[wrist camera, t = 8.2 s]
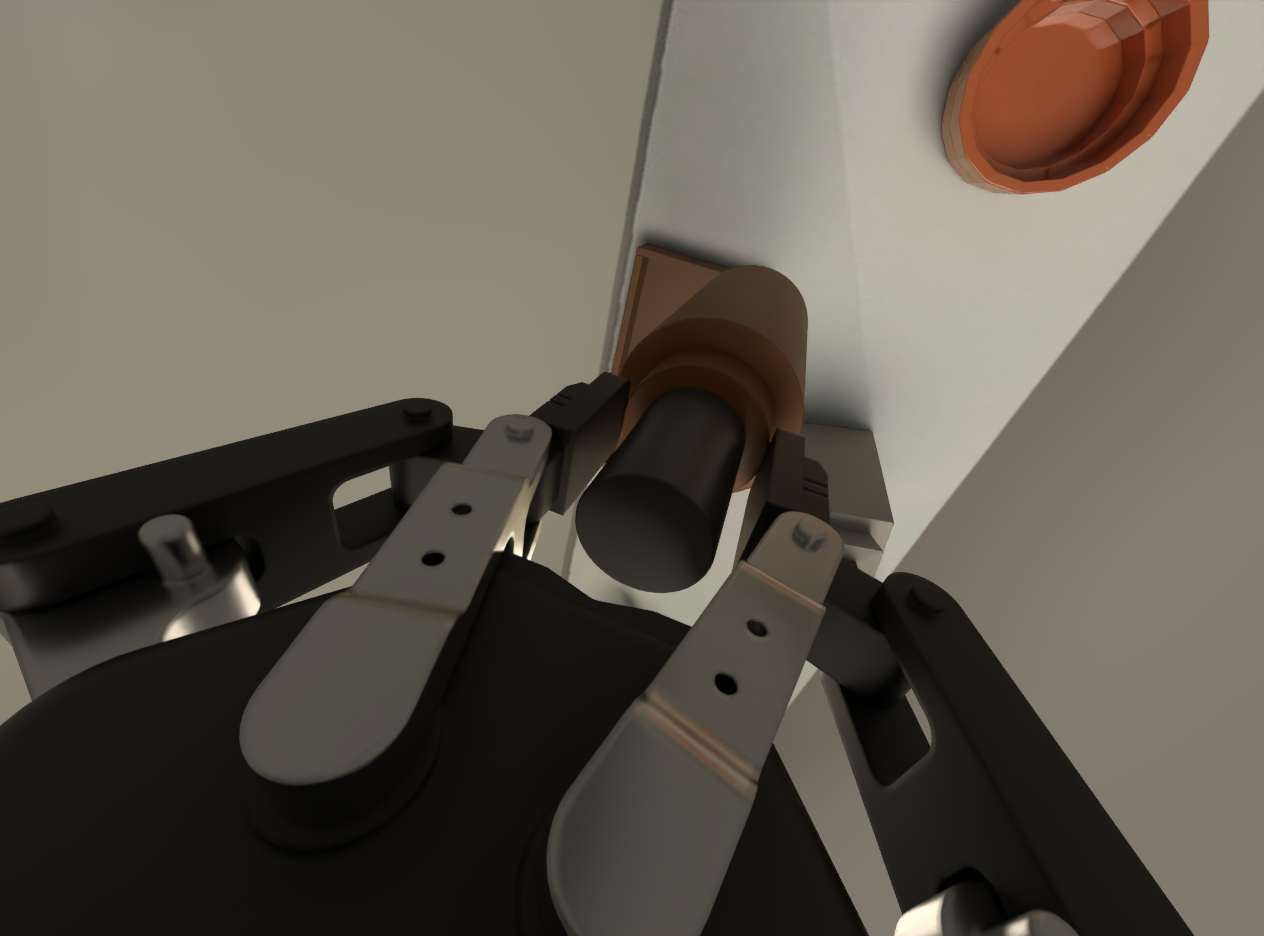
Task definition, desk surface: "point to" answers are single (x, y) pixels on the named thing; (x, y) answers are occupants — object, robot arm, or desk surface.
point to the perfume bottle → (853, 491)
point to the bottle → (696, 428)
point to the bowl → (1069, 89)
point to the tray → (658, 295)
